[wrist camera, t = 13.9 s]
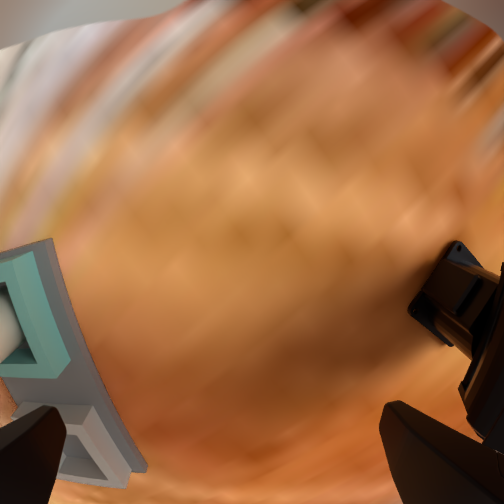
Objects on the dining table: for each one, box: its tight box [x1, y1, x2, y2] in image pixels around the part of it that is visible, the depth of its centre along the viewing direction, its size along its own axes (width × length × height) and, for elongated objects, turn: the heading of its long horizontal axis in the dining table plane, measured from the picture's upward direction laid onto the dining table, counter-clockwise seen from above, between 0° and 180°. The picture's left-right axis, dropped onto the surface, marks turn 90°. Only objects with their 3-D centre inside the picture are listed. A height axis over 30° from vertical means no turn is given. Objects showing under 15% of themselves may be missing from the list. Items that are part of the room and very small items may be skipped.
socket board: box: [0, 238, 148, 489], centre depth 20 cm, size 22×11×4 cm, turn 11°
